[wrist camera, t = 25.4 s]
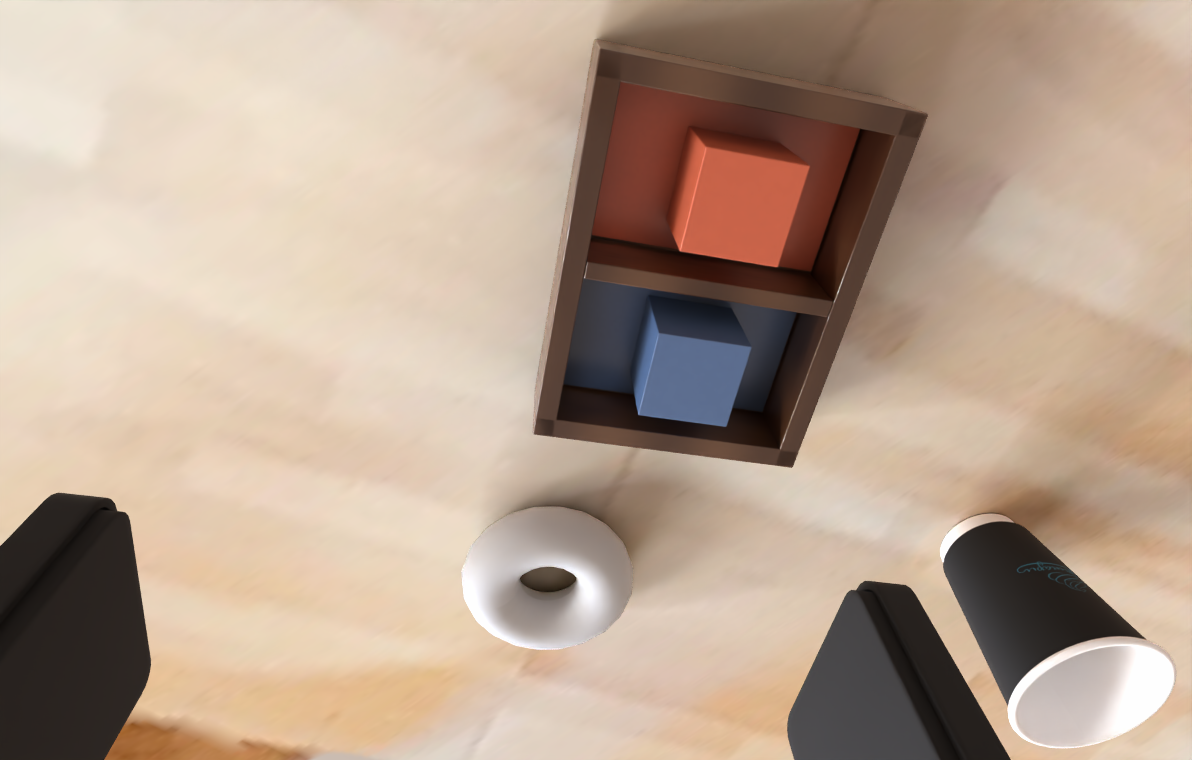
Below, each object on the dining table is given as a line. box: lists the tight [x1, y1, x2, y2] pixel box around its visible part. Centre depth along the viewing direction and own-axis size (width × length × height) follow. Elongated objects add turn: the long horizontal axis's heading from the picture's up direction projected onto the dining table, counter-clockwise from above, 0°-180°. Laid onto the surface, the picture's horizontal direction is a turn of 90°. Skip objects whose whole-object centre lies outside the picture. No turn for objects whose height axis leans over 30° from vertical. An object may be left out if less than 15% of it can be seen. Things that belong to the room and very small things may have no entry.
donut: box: [462, 506, 633, 650], centre depth 43 cm, size 10×4×10 cm
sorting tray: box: [533, 39, 928, 468], centre depth 33 cm, size 13×17×4 cm
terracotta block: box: [666, 126, 810, 267], centre depth 31 cm, size 4×4×4 cm
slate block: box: [630, 295, 752, 427], centre depth 34 cm, size 4×4×4 cm
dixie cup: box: [940, 514, 1176, 748], centre depth 40 cm, size 8×8×11 cm
